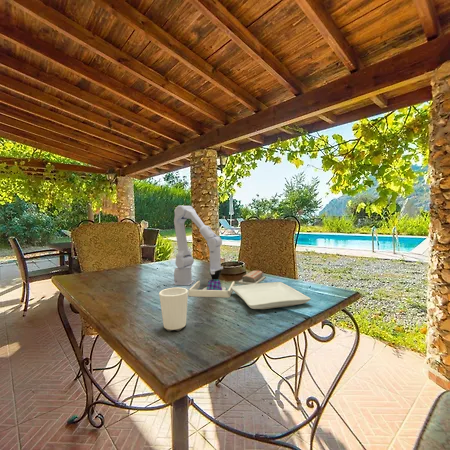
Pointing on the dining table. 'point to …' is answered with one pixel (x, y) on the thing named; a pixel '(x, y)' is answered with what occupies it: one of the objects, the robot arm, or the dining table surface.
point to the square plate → (269, 295)
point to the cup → (174, 308)
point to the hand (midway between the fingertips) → (215, 284)
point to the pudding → (214, 285)
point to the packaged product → (252, 277)
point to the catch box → (209, 291)
